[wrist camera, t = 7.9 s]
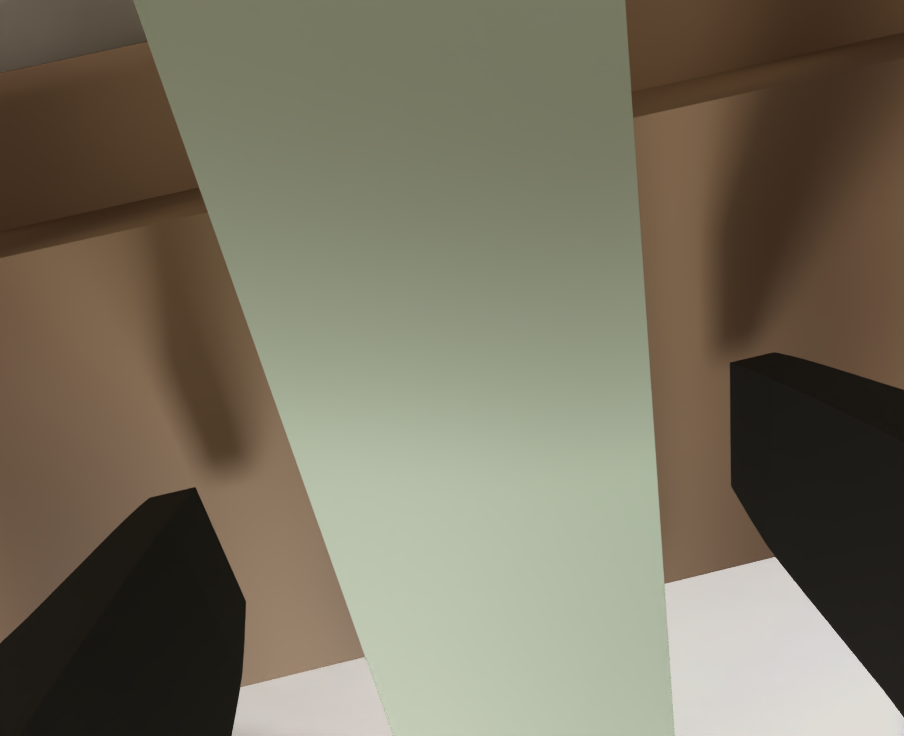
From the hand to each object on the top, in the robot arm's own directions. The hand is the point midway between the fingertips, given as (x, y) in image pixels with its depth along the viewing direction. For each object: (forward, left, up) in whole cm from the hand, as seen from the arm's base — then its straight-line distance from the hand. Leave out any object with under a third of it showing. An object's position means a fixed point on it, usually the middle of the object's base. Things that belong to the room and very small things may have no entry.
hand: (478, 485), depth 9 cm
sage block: (0, 0, -3) cm, 3 cm away
